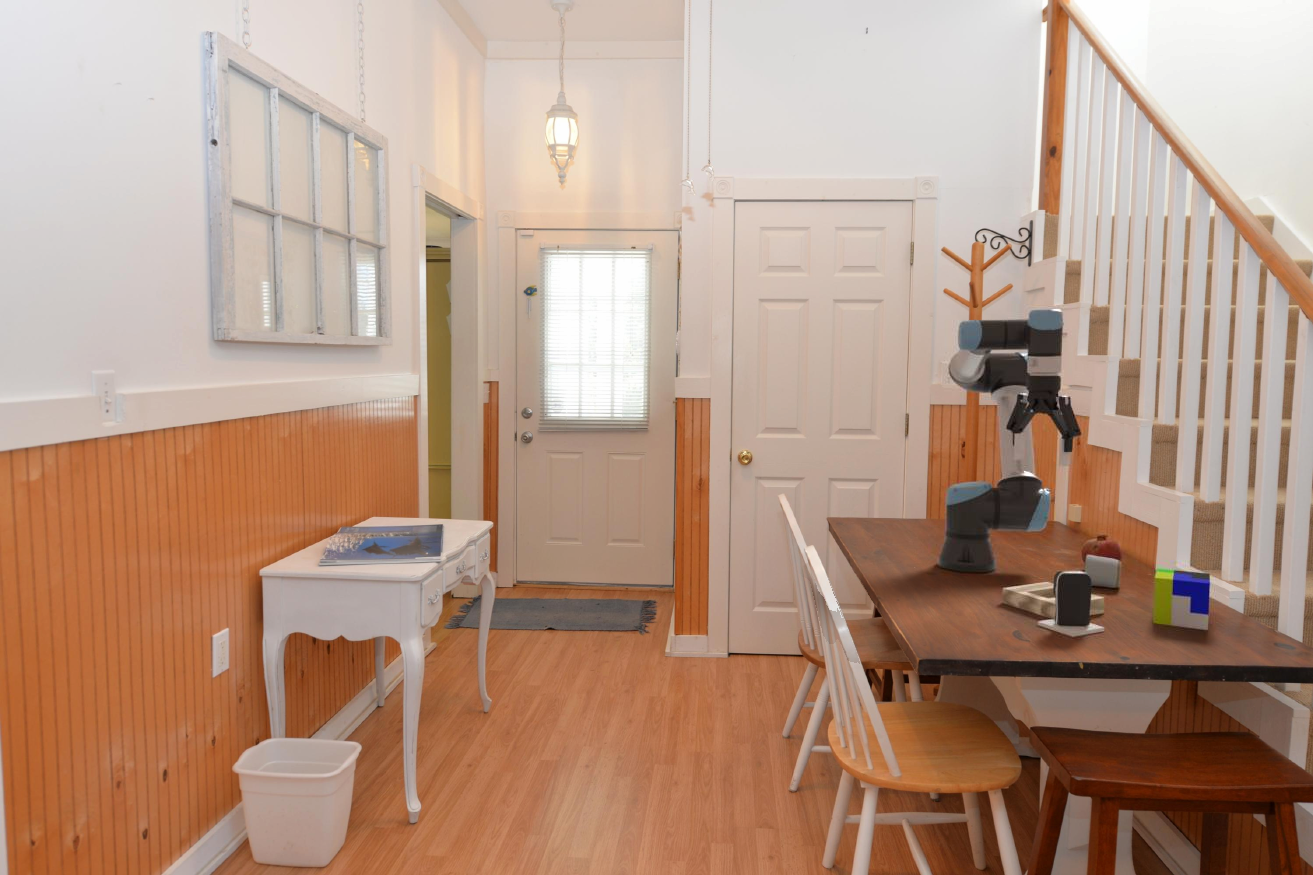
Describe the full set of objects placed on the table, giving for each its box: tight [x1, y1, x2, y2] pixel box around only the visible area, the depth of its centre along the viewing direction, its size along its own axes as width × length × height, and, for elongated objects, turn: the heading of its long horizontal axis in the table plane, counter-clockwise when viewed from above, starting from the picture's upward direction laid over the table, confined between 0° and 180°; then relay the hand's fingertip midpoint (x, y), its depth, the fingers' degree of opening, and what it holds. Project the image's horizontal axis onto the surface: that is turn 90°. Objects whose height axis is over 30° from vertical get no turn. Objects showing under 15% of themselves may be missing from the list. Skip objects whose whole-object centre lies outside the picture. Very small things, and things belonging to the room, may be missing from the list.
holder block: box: [1002, 581, 1106, 619], centre depth 201 cm, size 16×14×4 cm
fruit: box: [1081, 534, 1123, 564], centre depth 234 cm, size 11×10×10 cm
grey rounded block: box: [1084, 555, 1122, 589], centre depth 221 cm, size 11×8×8 cm
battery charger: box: [1053, 570, 1092, 626], centre depth 185 cm, size 7×4×11 cm, turn 87°
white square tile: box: [1037, 618, 1105, 638], centre depth 185 cm, size 9×9×1 cm
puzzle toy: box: [1152, 568, 1211, 631], centre depth 190 cm, size 10×10×10 cm
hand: (1041, 462), depth 211 cm, fingers open, 13 cm apart
